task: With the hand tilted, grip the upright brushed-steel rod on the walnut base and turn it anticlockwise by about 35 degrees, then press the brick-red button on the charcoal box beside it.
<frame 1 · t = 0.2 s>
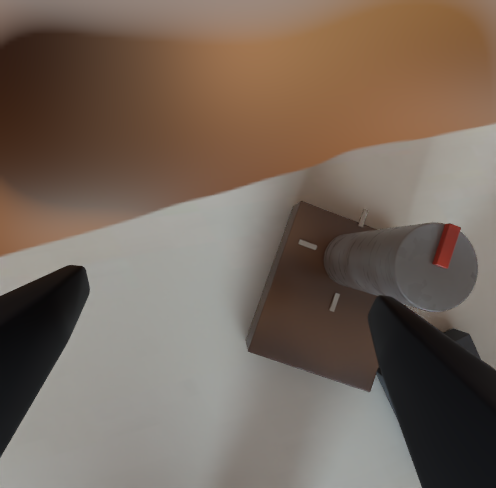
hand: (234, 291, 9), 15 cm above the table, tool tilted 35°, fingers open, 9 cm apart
rod: (382, 262, 17), point 7 cm above the table, hinge at 0.0°
rod base: (324, 292, 24), on the table
button box: (437, 400, 24), on the table
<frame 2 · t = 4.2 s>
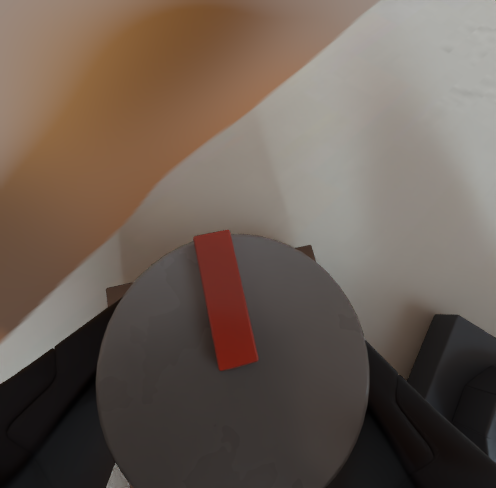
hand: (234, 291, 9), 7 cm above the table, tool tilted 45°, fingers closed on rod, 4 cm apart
rod: (229, 338, 8), point 7 cm above the table, hinge at 0.0°, touching gripper
rod base: (237, 384, 15), on the table
button box: (488, 428, 15), on the table
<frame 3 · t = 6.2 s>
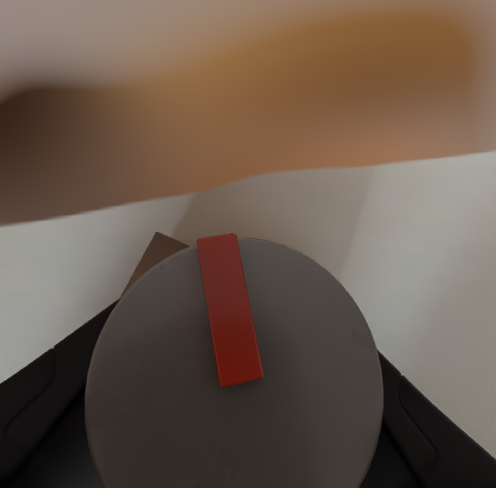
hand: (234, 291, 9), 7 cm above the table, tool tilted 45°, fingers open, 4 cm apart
rod: (230, 346, 8), point 7 cm above the table, hinge at 34.4°
rod base: (201, 389, 14), on the table
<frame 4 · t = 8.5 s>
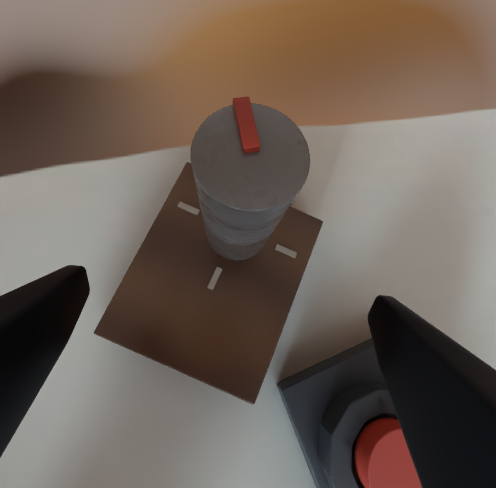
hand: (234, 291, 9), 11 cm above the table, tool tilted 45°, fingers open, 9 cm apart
rod: (242, 202, 13), point 7 cm above the table, hinge at 34.4°
rod base: (218, 277, 20), on the table
button box: (361, 433, 18), on the table
button: (397, 465, 14), point 4 cm above the table, slide at 0.1 cm
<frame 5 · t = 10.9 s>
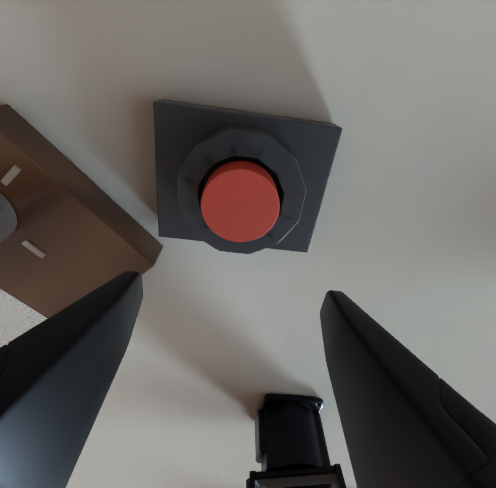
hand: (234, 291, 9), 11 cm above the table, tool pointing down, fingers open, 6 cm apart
rod base: (52, 226, 20), on the table
button box: (241, 178, 18), on the table
button: (240, 202, 15), point 4 cm above the table, slide at 0.1 cm
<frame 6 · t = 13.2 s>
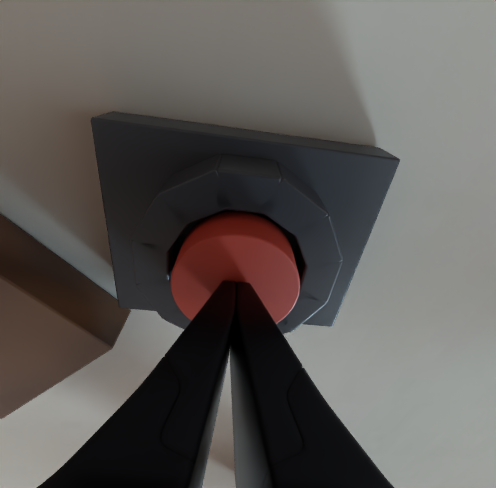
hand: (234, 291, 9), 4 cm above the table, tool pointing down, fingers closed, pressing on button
button box: (238, 225, 12), on the table
button: (236, 275, 9), point 4 cm above the table, slide at -0.2 cm, touching gripper
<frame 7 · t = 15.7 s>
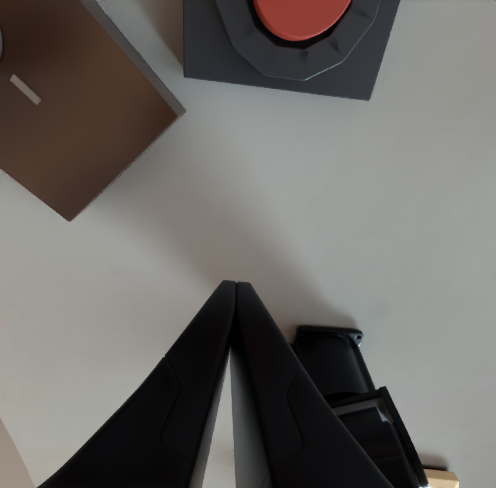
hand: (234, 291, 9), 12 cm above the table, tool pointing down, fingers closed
rod base: (49, 80, 16), on the table
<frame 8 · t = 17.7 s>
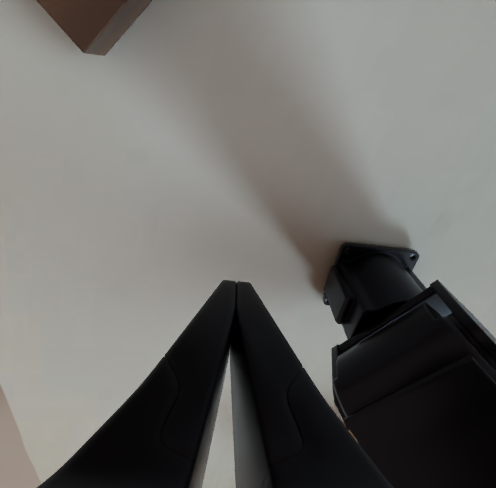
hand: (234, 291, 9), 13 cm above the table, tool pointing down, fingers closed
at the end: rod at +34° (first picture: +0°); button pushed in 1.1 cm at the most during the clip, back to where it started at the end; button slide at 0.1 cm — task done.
